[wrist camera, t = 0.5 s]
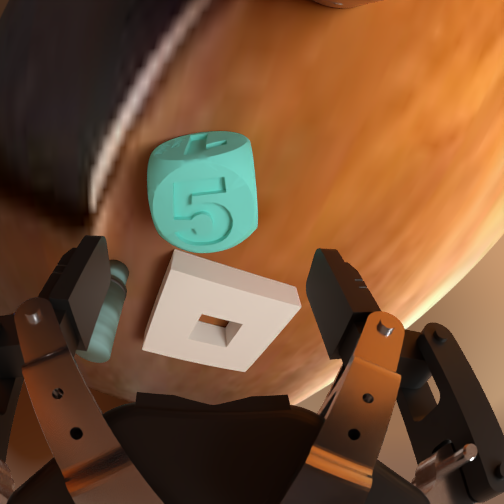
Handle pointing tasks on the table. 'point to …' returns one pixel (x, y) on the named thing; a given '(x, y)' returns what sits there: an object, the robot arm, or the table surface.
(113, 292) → the peg
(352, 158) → the table surface
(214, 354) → the hole board
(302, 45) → the table surface
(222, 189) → the decorative dice
